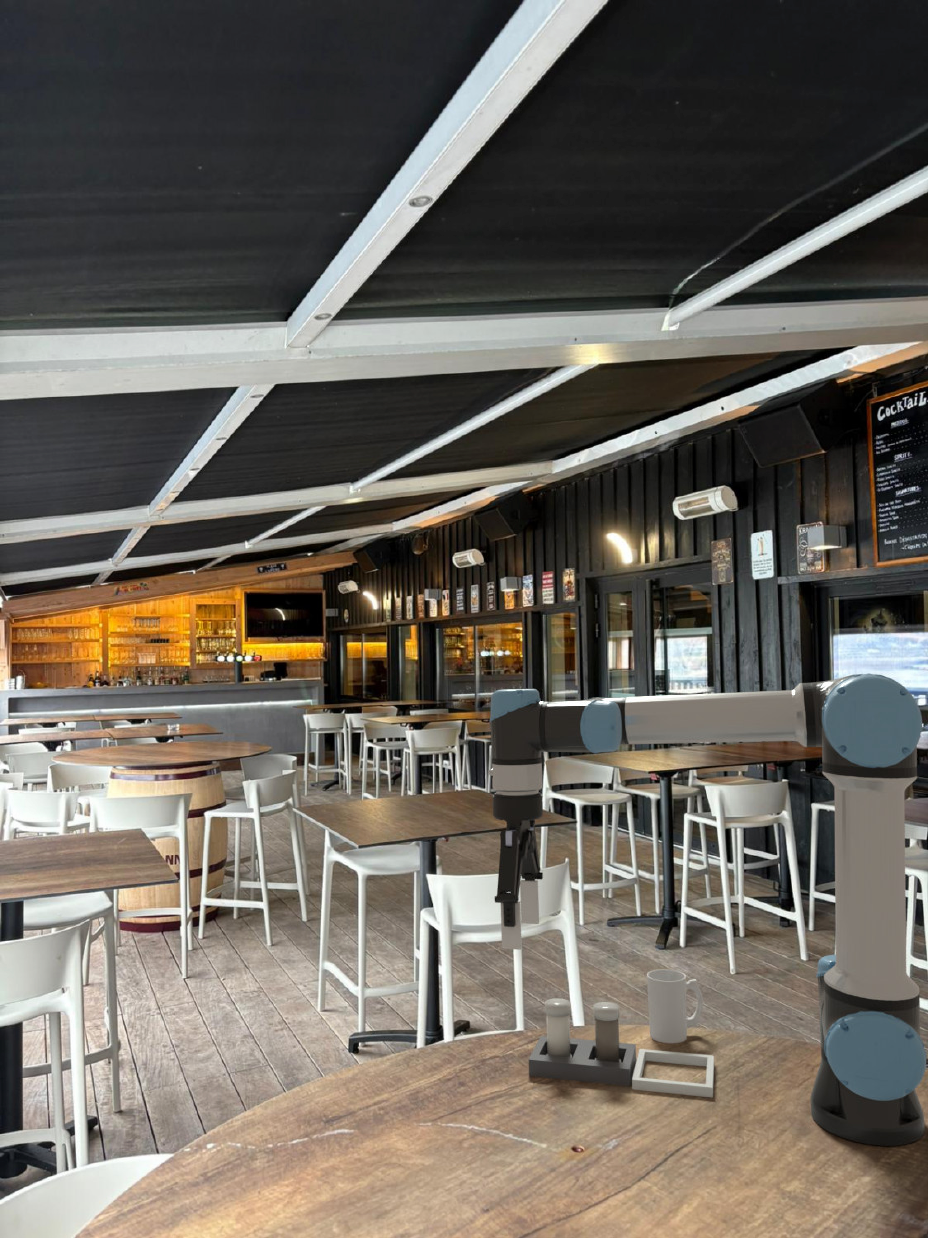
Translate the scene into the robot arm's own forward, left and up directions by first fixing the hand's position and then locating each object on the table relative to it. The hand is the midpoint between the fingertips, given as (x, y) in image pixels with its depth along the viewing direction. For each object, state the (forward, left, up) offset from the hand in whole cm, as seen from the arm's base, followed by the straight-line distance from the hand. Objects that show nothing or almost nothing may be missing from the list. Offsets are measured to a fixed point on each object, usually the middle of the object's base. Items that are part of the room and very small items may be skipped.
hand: (521, 935), depth 137 cm
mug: (-20, -34, -27) cm, 48 cm away
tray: (-20, -17, -27) cm, 38 cm away
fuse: (-2, -17, -25) cm, 30 cm away
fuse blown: (-10, -17, -25) cm, 32 cm away
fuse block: (-6, -17, -27) cm, 32 cm away
